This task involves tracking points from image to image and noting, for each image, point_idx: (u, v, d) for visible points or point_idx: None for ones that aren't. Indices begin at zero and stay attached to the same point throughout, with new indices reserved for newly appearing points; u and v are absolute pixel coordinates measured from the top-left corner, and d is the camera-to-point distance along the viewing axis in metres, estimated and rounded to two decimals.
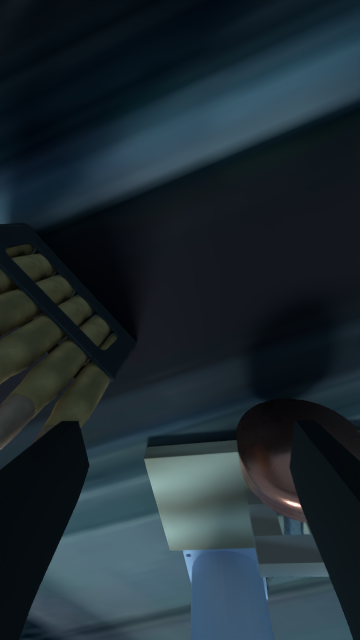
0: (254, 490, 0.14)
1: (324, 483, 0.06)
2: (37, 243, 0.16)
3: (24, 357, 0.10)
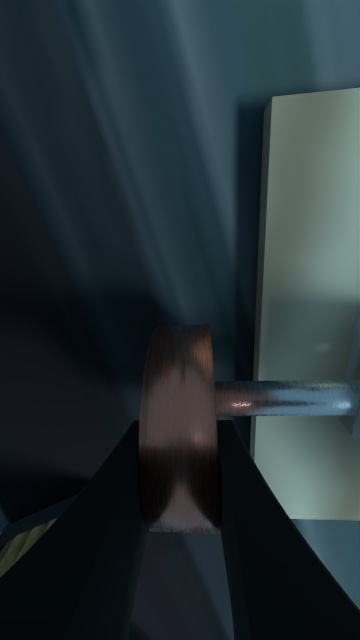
0: None
1: (220, 481, 0.06)
2: (11, 531, 0.19)
3: None
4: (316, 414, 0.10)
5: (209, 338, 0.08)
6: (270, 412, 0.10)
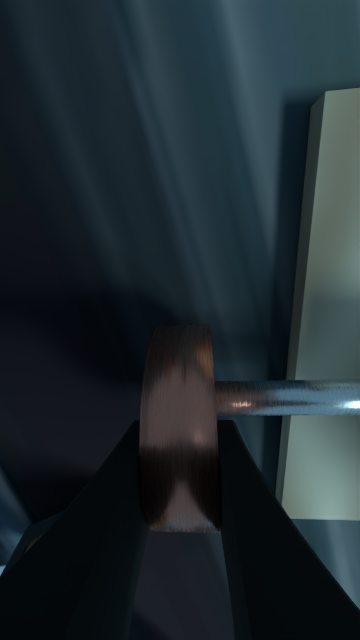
0: None
1: (220, 482, 0.06)
2: (34, 532, 0.19)
3: None
4: (316, 414, 0.10)
5: (209, 338, 0.08)
6: (270, 412, 0.10)
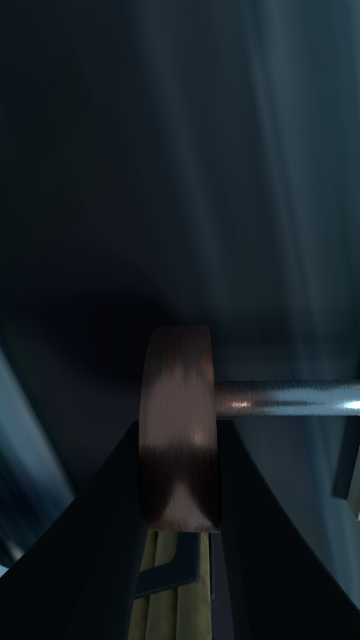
0: None
1: (220, 482, 0.06)
2: None
3: None
4: (316, 414, 0.10)
5: (209, 338, 0.08)
6: (270, 412, 0.10)
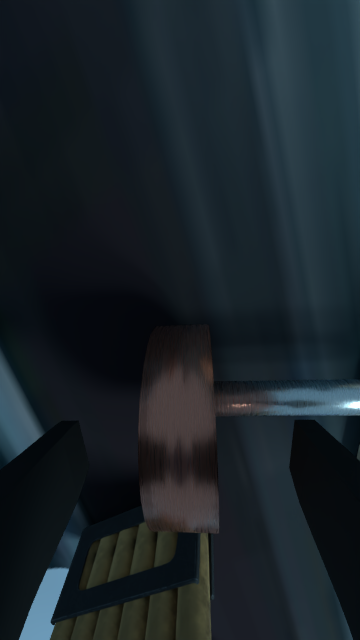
0: None
1: (324, 483, 0.06)
2: (94, 534, 0.19)
3: None
4: (316, 414, 0.10)
5: (208, 338, 0.08)
6: (270, 412, 0.10)
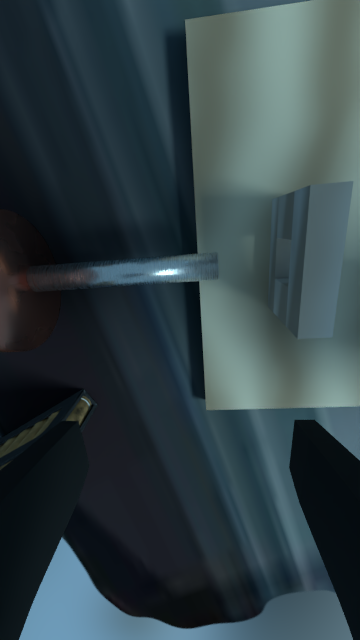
0: (9, 351, 0.12)
1: (324, 483, 0.06)
2: (2, 440, 0.22)
3: None
4: (104, 282, 0.13)
5: None
6: (69, 282, 0.13)
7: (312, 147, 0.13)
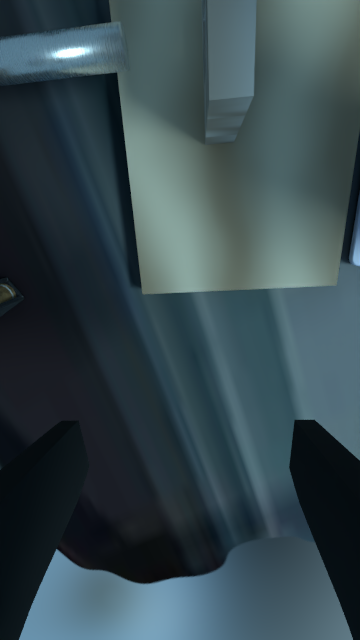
0: None
1: (324, 483, 0.06)
2: None
3: None
4: None
5: None
6: None
7: None
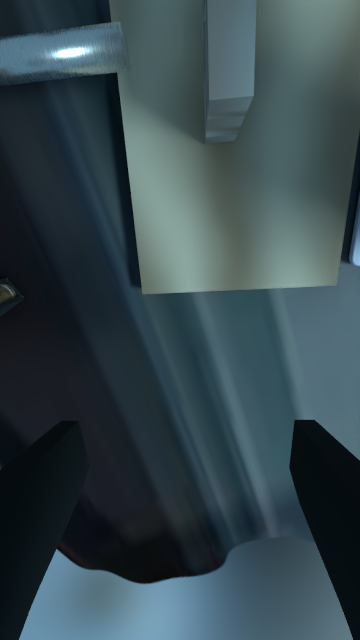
0: None
1: (324, 483, 0.06)
2: None
3: None
4: None
5: None
6: None
7: None
